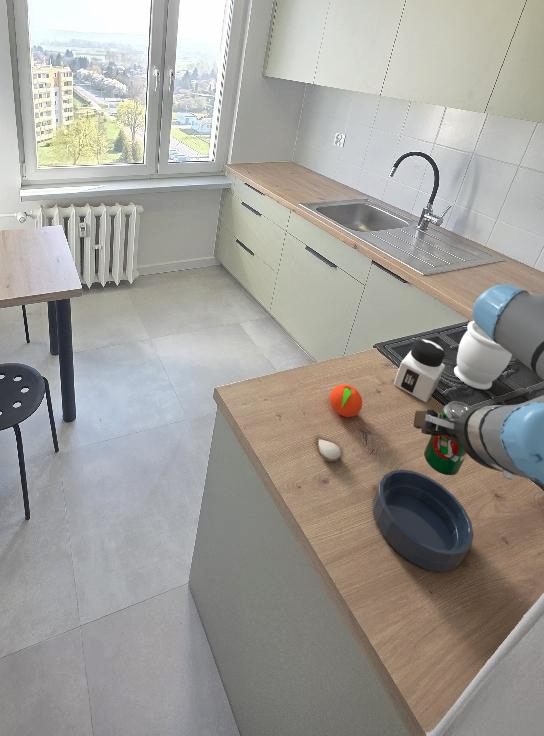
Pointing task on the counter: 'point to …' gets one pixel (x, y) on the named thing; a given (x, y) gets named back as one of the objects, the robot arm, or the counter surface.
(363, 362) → the counter surface
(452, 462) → the soda can
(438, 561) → the bowl
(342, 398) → the clementine
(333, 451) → the garlic clove
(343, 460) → the counter surface
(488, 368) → the jar
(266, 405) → the counter surface
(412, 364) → the container
